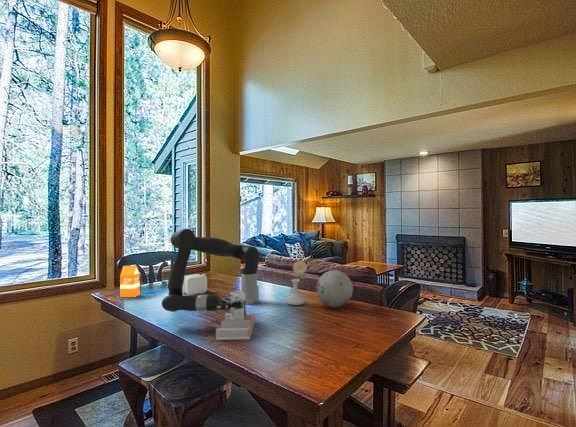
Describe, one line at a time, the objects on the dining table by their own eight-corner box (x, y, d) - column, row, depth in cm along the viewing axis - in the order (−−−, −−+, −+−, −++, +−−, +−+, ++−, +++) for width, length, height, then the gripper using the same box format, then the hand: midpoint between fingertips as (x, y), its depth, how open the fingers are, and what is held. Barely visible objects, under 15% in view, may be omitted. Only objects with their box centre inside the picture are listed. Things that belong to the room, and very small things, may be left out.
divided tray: (215, 339, 132) (215, 330, 132) (226, 321, 154) (225, 313, 154) (249, 339, 132) (249, 329, 132) (254, 321, 154) (254, 313, 154)
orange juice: (134, 298, 201) (133, 266, 201) (120, 298, 202) (119, 266, 202) (139, 294, 209) (139, 264, 209) (126, 295, 209) (126, 264, 209)
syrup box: (234, 326, 144) (233, 294, 144) (230, 322, 149) (229, 291, 149) (246, 324, 147) (245, 292, 147) (242, 320, 152) (241, 290, 152)
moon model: (360, 306, 176) (359, 270, 176) (339, 314, 162) (338, 275, 162) (331, 299, 190) (330, 266, 190) (309, 307, 176) (308, 270, 176)
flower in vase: (282, 305, 179) (282, 261, 179) (290, 300, 190) (289, 258, 190) (304, 308, 174) (303, 262, 174) (310, 302, 185) (310, 259, 185)
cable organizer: (186, 296, 203) (185, 278, 203) (179, 293, 211) (178, 276, 211) (207, 292, 213) (207, 275, 213) (200, 289, 221) (199, 273, 221)
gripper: (203, 298, 141) (239, 298, 141) (210, 291, 155) (244, 290, 155) (203, 315, 141) (240, 315, 141) (211, 306, 155) (244, 305, 155)
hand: (242, 302), depth 148 cm, fingers open, 8 cm apart
